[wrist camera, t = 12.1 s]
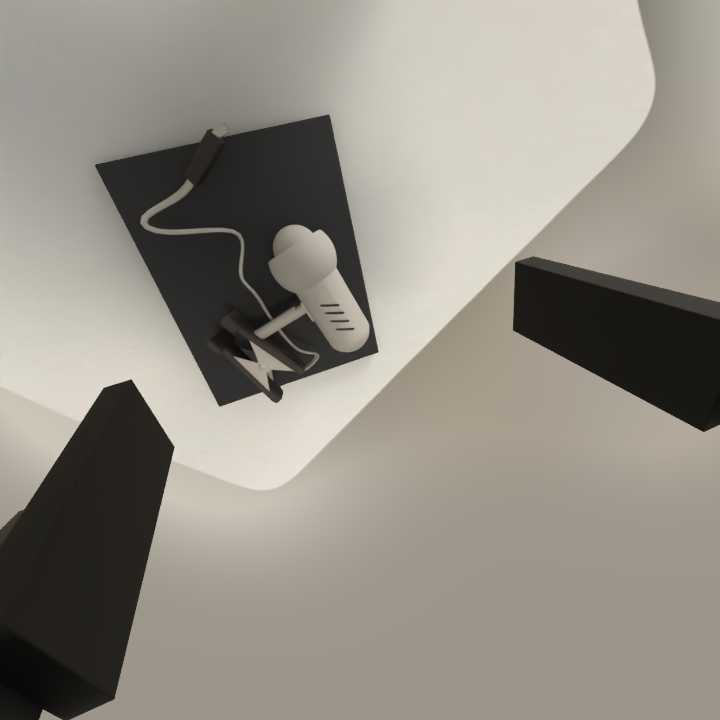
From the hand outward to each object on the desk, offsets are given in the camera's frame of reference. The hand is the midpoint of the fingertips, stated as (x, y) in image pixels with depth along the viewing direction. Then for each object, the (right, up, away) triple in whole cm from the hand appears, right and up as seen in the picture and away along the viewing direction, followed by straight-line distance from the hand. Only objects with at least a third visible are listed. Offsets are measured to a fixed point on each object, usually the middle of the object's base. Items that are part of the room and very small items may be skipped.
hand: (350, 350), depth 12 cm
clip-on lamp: (-8, +7, +16) cm, 20 cm away
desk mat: (-8, +7, +17) cm, 20 cm away
